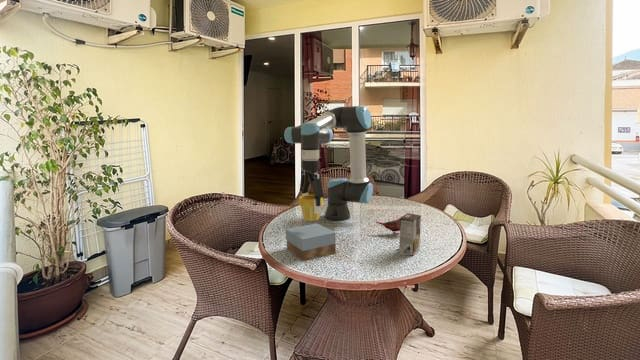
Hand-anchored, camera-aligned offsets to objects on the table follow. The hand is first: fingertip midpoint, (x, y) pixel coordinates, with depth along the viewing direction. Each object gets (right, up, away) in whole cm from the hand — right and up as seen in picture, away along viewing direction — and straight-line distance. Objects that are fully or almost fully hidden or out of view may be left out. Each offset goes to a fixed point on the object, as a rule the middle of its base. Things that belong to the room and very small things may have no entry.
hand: (311, 210), depth 150 cm
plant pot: (0, -4, +1) cm, 4 cm away
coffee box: (+43, -19, +2) cm, 47 cm away
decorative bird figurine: (+40, -14, +25) cm, 50 cm away
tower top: (0, -14, +2) cm, 14 cm away
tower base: (0, -19, +4) cm, 19 cm away
